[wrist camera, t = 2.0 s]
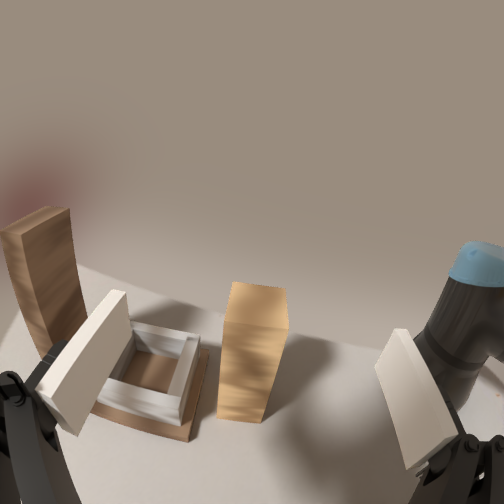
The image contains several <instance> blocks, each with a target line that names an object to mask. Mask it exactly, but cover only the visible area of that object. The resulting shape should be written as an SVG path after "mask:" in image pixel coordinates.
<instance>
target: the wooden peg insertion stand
mask: <svg viewBox="0 0 504 504" xmlns="http://www.w3.org/2000/svg"><path fill="white" fill-rule="evenodd" d="M0 236H1V241H2V246H3V251H4V255H5V259H6V263H7V267H8V271H9V275H10V278H11V282H12V285H13V288H14V291H15V294H16V298H17V301H18V303H19V306H20V309H21V312H22V315H23V317H24V320H25V322H26V325H27V327H28V330H29V332H30V335H31V337H32V339H33V342H34V344H35V346H36V348H37V350H38V352H39V355H40V357H41V359H43V357H44V356H45V355H47V352H48V351H49V350H50V348H51V347H52V346H53V345H54V344H55V343H57V342H59V341H60V340H62V339H64V340H67V341H70V340H71V339H72V337H73V336H74V335H75V334H76V332H77V331H78V330H79V328H80V327H81V326H82V325H83V323H84V322H85V321H86V320H87V319H88V316H87V312H86V308H85V304H84V300H83V295H82V291H81V286H80V281H79V276H78V271H77V265H76V259H75V254H74V246H73V239H72V230H71V221H70V209H69V208H63V207H52V206H51V207H50V206H46V207H43V208H42V209H39V210H37V211H35V212H33V213H31V214H29V215H28V216H25V217H24V218H22V219H20V220H18V221H16V222H14V223H13V224H10V225H9V226H7V227H5V228H3V229H2V230H0ZM130 326H131V332H132V336H131V338H130V340H129V342H128V343H127V345H126V347H125V348H124V350H123V352H122V354H121V355H120V357H119V359H118V361H117V363H116V364H115V366H114V368H113V370H112V372H111V373H110V375H109V377H108V379H107V381H106V382H105V384H104V386H103V388H102V390H101V392H100V394H99V396H98V397H97V399H96V401H95V403H94V405H93V407H92V409H91V411H90V413H92V414H95V415H97V416H100V417H102V418H105V419H108V420H110V421H113V422H116V423H119V424H122V425H125V426H128V427H131V428H134V429H137V430H140V431H144V432H147V433H151V434H155V435H158V436H162V437H166V438H170V439H174V440H179V441H183V442H188V441H189V437H190V433H191V428H192V424H193V420H194V416H195V411H196V407H197V403H198V399H199V395H200V390H201V386H202V382H203V378H204V374H205V370H206V366H207V362H208V357H209V350H207V349H201V348H200V334H194V333H189V332H183V331H178V330H173V329H168V328H163V327H158V326H154V325H149V324H145V323H140V322H136V321H132V320H130Z"/></svg>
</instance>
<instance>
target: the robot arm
mask: <svg viewBox="0 0 504 504" xmlns="http://www.w3.org/2000/svg"><path fill="white" fill-rule="evenodd" d="M131 336H132V332H131V326H130V319H129V313H128V305H127V298H126V292H123V291H119V290H114V289H112V290H111V291H110V292H109V293H108V295H107V296H106V297H105V298H104V299H103V300H102V302H101V303H100V304H99V305H98V306H97V308H96V309H95V310H94V311H93V312H92V314H91V315H90V316H89V317H88V319H87V320H86V321H85V322H84V323H83V325H82V326H81V327H80V328H79V330H78V331H77V332H76V334H75V335H74V336H73V337H72V339H71V340H70V341H67V340H64V339H62V340H60V341H59V342H57V343H55V344H54V345H53V346H52V347H51V348H50V350H49V351H48V352H47V355H45V356H44V357H43V359H42V361H40V363H39V364H38V365H37V367H36V368H35V369H34V371H33V372H32V374H31V375H30V376H29V378H28V379H27V380H26V382H25V383H23V381H22V379H21V378H20V376H19V375H18V374H17V373H15V372H13V371H5V372H3V373H1V374H0V504H21V501H22V504H82V503H81V501H80V499H79V496H78V494H77V492H76V489H75V487H74V484H73V482H72V479H71V476H70V473H69V471H68V468H67V465H66V462H65V459H64V456H63V452H62V449H61V446H60V442H59V438H58V435H57V431H56V429H55V426H56V424H57V422H58V424H59V425H60V426H61V428H62V429H63V430H65V431H67V432H69V433H71V434H73V435H75V436H77V437H78V435H79V433H80V431H81V429H82V427H83V425H84V423H85V421H86V419H87V417H88V415H89V413H90V411H91V409H92V407H93V405H94V403H95V401H96V399H97V397H98V396H99V394H100V392H101V390H102V388H103V386H104V384H105V382H106V381H107V379H108V377H109V375H110V373H111V372H112V370H113V368H114V366H115V364H116V363H117V361H118V359H119V357H120V355H121V354H122V352H123V350H124V348H125V347H126V345H127V343H128V342H129V340H130V338H131ZM489 356H493V357H494V358H496V359H497V360H499V361H500V362H502V363H504V248H503V247H501V246H498V245H494V244H490V243H487V242H481V241H472V242H468V243H466V244H464V245H463V246H462V248H461V249H460V251H459V253H458V256H457V258H456V260H455V263H454V265H453V267H452V268H451V269H450V271H449V278H448V281H447V283H446V285H445V287H444V289H443V292H442V294H441V296H440V298H439V300H438V302H437V304H436V306H435V308H434V310H433V313H432V314H431V316H430V318H429V320H428V322H427V324H426V326H425V328H424V329H423V331H421V332H420V333H419V335H417V336H416V337H415V338H414V339H413V340H412V338H411V336H410V334H409V333H408V331H407V329H394V331H393V333H392V335H391V337H390V339H389V341H388V343H387V345H386V347H385V348H384V350H383V352H382V354H381V356H380V357H379V359H378V361H377V363H376V364H375V366H374V367H375V370H376V373H377V376H378V379H379V382H380V384H381V387H382V390H383V393H384V396H385V399H386V402H387V405H388V408H389V411H390V415H391V418H392V421H393V424H394V428H395V431H396V434H397V438H398V441H399V445H400V448H401V452H402V456H403V459H404V463H405V467H406V470H408V469H412V468H416V467H419V466H421V465H422V464H423V463H425V462H426V461H427V460H428V462H429V465H428V466H426V467H425V468H424V469H422V470H421V471H420V472H418V473H417V474H416V477H418V476H419V475H421V474H422V473H423V472H424V473H423V475H422V476H421V477H420V482H419V484H418V486H417V488H416V490H415V492H414V494H413V496H412V498H411V500H410V502H409V504H504V437H503V436H502V435H496V436H495V437H493V438H492V439H491V440H490V441H479V440H478V439H477V437H475V436H474V435H472V434H466V432H465V430H464V428H463V426H462V423H461V421H460V419H459V417H458V414H457V412H458V411H459V410H460V409H461V408H462V406H463V405H464V404H465V403H466V401H467V400H468V398H469V395H470V392H471V390H472V388H473V386H474V383H475V381H476V378H477V376H478V373H479V370H480V369H481V367H482V366H483V364H484V363H485V361H486V360H487V358H488V357H489ZM483 472H484V478H482V479H481V480H480V479H479V475H481V474H482V473H483ZM20 498H21V500H20Z"/></svg>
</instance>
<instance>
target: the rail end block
mask: <svg viewBox="0 0 504 504" xmlns="http://www.w3.org/2000/svg"><path fill="white" fill-rule="evenodd" d="M288 331H289V324H288V312H287V301H286V290H285V289H284V288H277V287H269V286H262V285H254V284H247V283H240V282H233V284H232V289H231V293H230V297H229V302H228V306H227V311H226V315H225V320H224V329H223V340H222V352H221V364H220V377H219V390H218V404H217V418H219V419H225V420H233V421H241V422H250V423H261V420H262V417H263V414H264V411H265V408H266V405H267V402H268V399H269V395H270V392H271V389H272V386H273V383H274V379H275V376H276V373H277V369H278V366H279V363H280V359H281V356H282V352H283V349H284V345H285V342H286V338H287V335H288Z"/></svg>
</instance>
